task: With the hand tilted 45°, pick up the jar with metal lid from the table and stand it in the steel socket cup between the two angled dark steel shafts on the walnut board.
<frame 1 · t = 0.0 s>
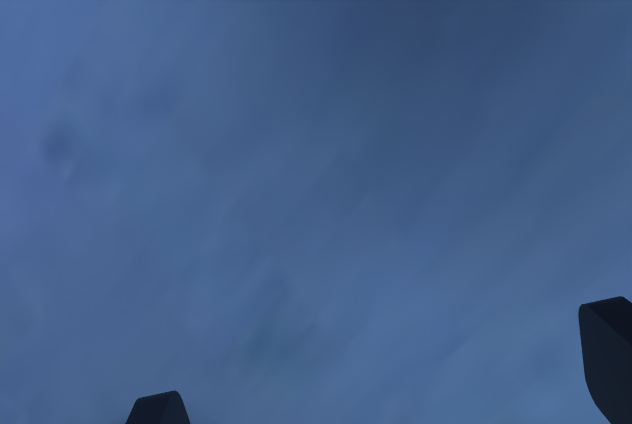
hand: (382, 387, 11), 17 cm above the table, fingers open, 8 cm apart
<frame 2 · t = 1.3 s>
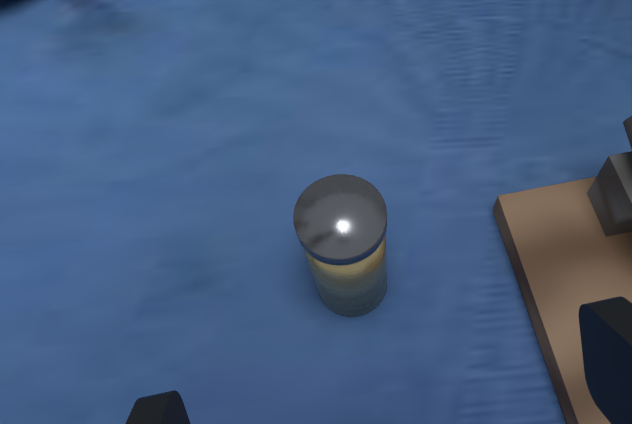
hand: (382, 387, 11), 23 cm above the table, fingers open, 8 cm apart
jar with metal lid: (352, 283, 37), on the table
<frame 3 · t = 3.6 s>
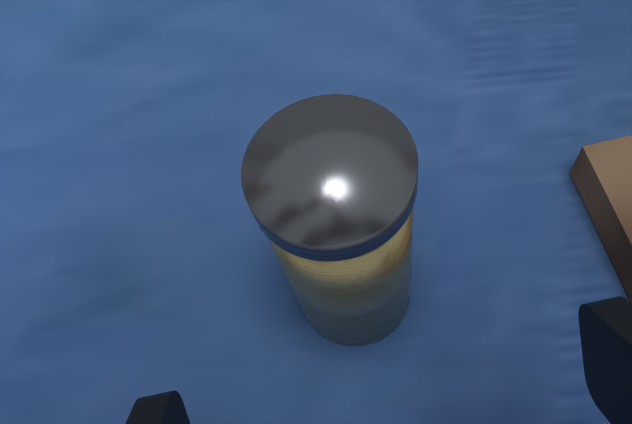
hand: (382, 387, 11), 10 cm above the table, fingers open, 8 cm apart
jar with metal lid: (354, 291, 23), on the table
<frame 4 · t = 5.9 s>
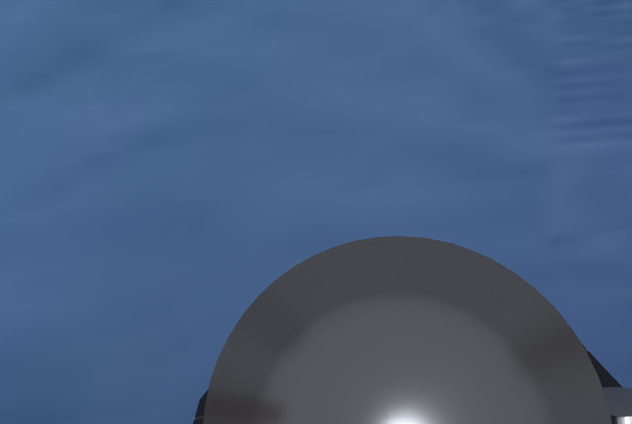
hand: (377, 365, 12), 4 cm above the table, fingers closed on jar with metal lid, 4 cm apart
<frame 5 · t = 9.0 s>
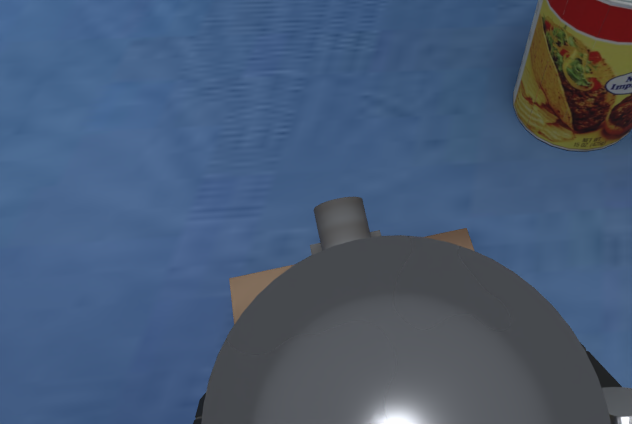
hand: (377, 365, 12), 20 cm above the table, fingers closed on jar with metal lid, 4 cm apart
canned food: (573, 104, 39), on the table
when the fingers open (7 cm above the table, at t = 11.9 s): jar with metal lid drops 1 cm, resting on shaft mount.
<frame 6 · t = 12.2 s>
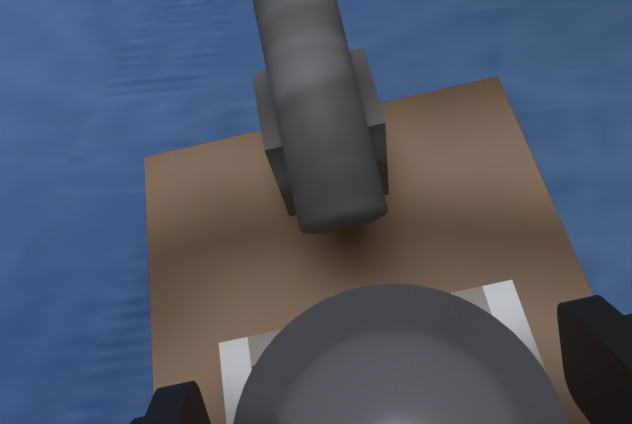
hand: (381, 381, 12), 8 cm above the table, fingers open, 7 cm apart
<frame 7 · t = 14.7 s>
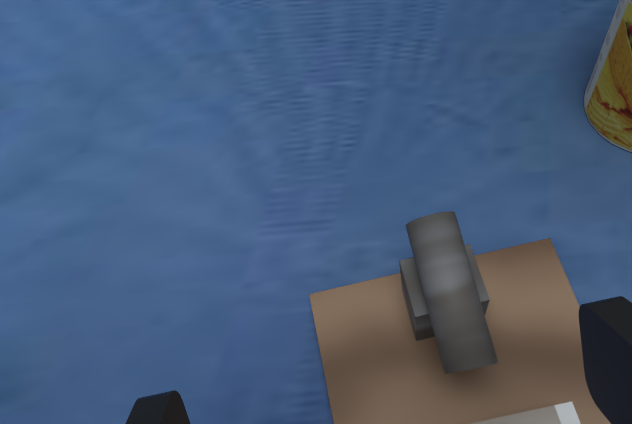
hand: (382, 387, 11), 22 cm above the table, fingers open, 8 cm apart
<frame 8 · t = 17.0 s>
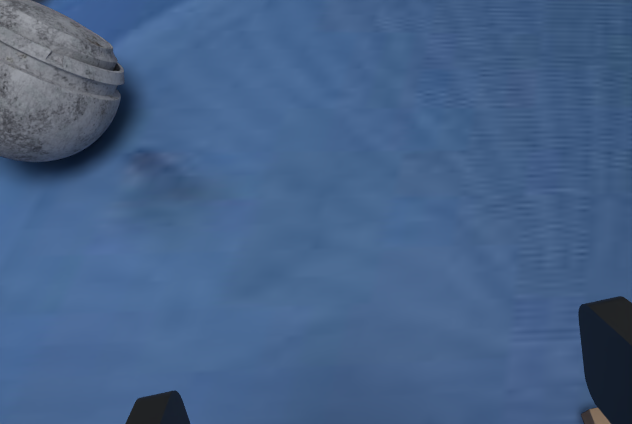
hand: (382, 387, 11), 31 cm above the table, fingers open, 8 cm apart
decorative orb: (74, 129, 57), on the table
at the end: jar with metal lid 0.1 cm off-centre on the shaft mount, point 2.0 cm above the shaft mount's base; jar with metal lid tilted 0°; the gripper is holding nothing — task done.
